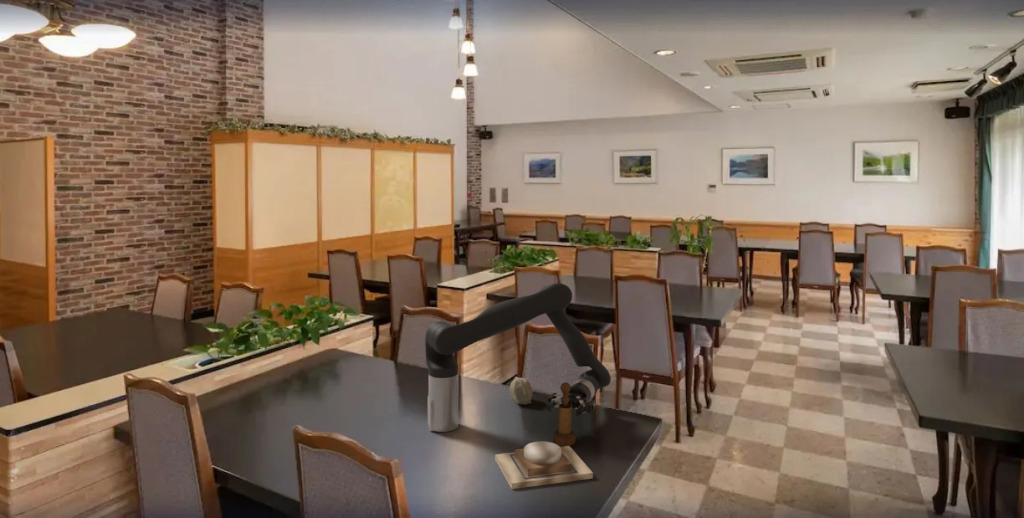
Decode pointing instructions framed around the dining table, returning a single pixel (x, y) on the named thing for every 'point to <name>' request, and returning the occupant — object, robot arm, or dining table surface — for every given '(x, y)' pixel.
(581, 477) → the beige flat stepped piece
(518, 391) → the garlic bulb
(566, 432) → the wooden knobbed peg
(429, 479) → the dining table surface
